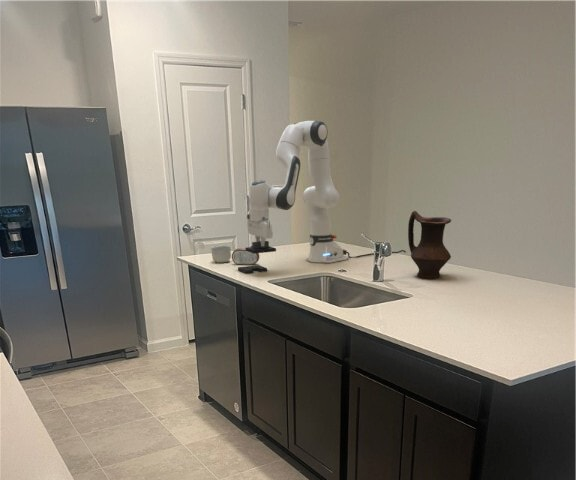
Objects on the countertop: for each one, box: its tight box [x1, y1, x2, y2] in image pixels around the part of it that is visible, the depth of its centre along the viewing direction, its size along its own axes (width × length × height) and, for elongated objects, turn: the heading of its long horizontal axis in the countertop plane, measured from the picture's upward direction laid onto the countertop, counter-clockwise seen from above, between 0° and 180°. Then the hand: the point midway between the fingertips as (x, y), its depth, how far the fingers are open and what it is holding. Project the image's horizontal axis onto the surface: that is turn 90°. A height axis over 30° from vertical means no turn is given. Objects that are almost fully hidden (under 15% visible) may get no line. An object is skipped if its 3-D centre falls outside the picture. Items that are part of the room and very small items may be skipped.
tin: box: [231, 248, 260, 266], centre depth 297 cm, size 15×3×8 cm, turn 84°
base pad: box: [237, 264, 268, 275], centre depth 283 cm, size 12×10×2 cm
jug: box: [407, 210, 452, 280], centre depth 258 cm, size 21×18×30 cm
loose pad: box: [244, 240, 277, 254], centre depth 271 cm, size 12×13×4 cm
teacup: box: [210, 245, 232, 264], centre depth 306 cm, size 14×11×8 cm
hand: (260, 245), depth 269 cm, fingers closed on loose pad, 2 cm apart
